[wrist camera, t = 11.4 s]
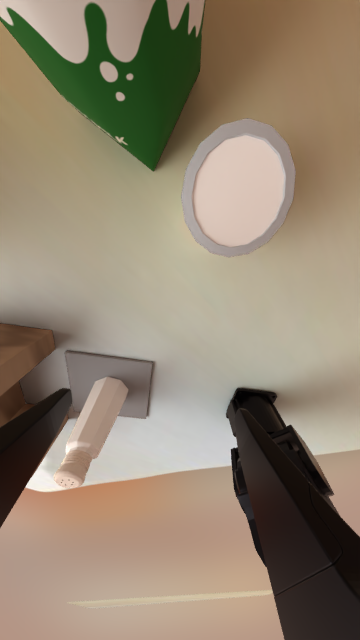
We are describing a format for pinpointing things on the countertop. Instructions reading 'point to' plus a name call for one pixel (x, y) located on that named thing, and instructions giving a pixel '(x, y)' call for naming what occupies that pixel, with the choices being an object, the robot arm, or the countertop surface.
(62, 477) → the pepper shaker
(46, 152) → the countertop surface
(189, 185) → the white cup
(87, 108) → the milk carton
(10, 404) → the wooden u-shaped block
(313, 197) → the countertop surface
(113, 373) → the grey mat
